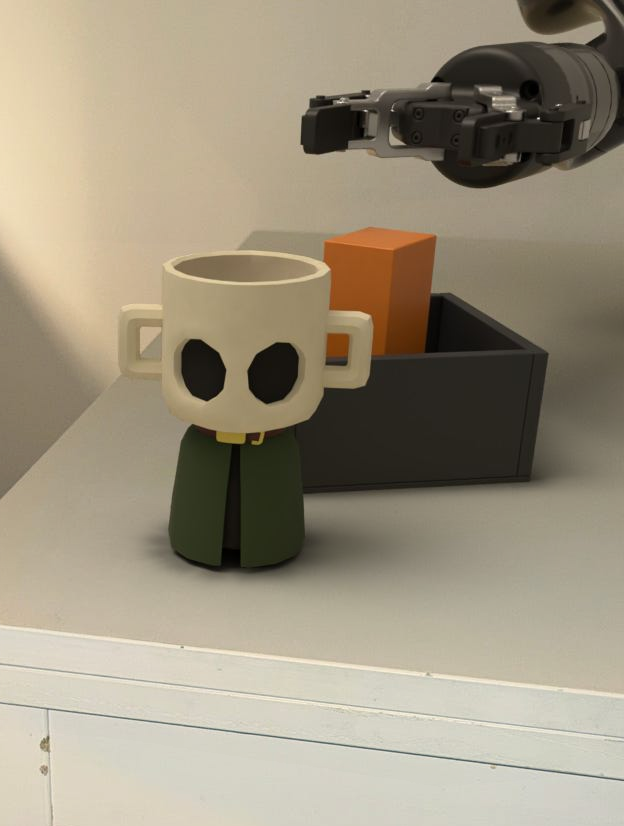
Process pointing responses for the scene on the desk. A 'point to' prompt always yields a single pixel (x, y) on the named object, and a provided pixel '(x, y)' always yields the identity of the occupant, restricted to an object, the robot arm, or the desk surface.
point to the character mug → (242, 391)
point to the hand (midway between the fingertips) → (385, 137)
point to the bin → (431, 411)
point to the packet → (382, 286)
